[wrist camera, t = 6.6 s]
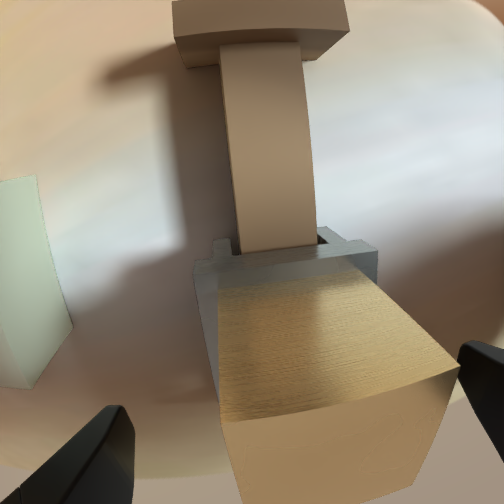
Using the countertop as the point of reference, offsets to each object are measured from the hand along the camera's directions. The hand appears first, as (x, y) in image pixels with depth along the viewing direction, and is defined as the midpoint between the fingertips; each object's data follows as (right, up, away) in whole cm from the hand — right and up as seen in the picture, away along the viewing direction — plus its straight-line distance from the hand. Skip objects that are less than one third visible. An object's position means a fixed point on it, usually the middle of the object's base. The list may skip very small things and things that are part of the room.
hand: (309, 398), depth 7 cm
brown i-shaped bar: (-1, +4, +5) cm, 7 cm away
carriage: (0, +2, +6) cm, 6 cm away
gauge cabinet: (-13, +3, +4) cm, 14 cm away
